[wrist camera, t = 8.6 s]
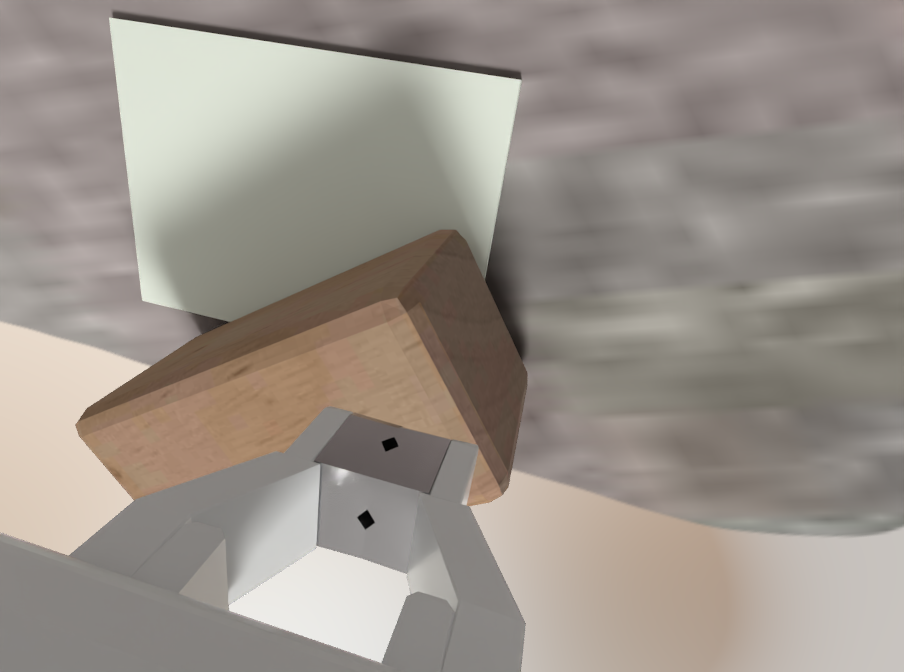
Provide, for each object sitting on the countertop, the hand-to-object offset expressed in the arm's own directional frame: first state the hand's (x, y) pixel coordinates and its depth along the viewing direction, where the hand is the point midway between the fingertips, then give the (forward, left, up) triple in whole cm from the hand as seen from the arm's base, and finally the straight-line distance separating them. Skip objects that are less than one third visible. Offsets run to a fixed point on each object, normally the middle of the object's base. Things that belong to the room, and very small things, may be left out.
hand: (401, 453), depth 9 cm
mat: (+9, -8, -19) cm, 22 cm away
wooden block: (+2, +3, -13) cm, 13 cm away
